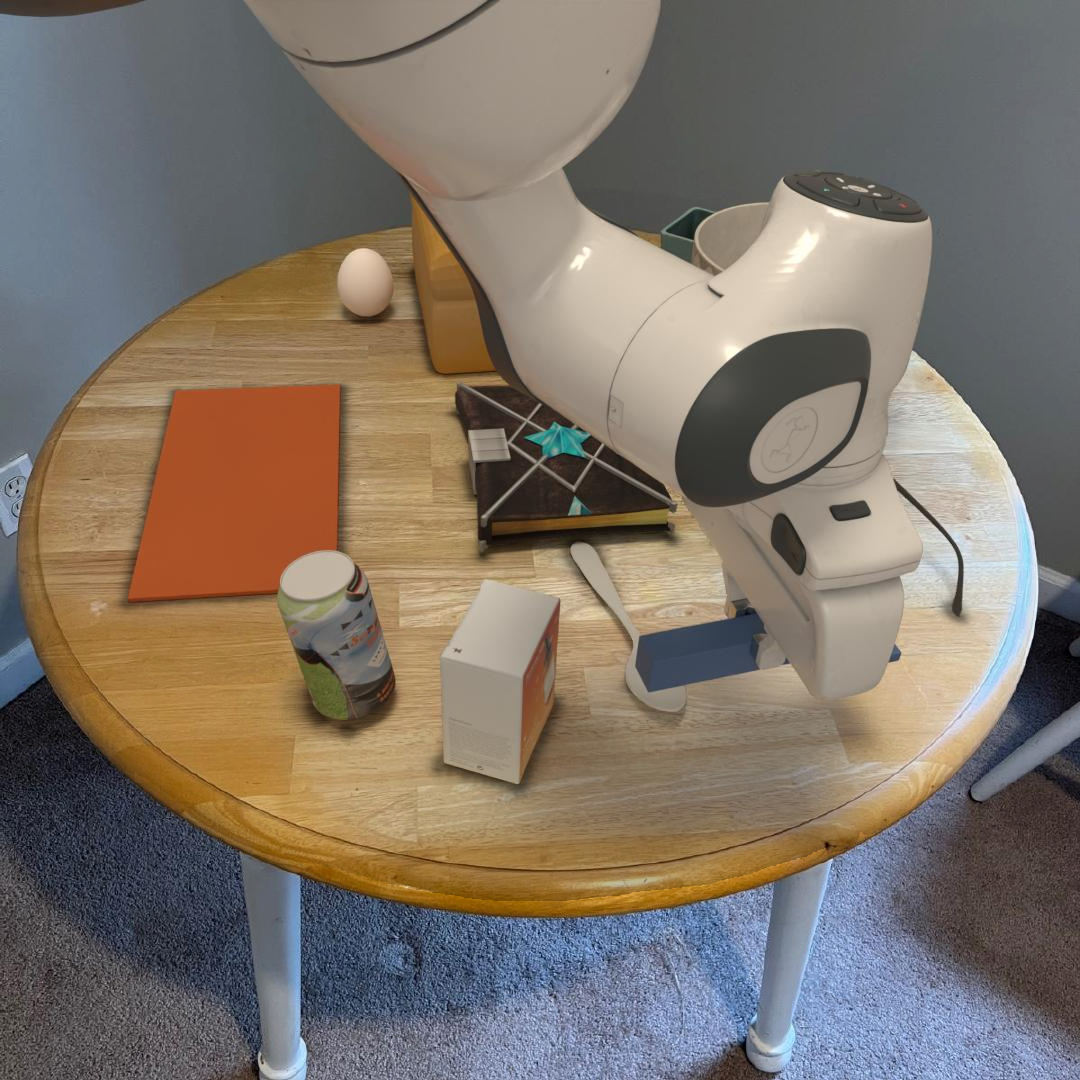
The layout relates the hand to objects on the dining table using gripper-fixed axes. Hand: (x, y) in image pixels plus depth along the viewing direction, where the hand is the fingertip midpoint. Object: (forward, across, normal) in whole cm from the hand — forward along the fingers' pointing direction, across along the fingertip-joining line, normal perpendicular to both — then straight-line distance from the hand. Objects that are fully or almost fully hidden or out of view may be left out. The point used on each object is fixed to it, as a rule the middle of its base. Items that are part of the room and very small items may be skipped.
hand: (752, 640), depth 70 cm
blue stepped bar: (+2, 0, +1) cm, 2 cm away
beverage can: (+10, -12, -25) cm, 29 cm away
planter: (+10, -37, +21) cm, 44 cm away
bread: (+10, -64, -1) cm, 64 cm away
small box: (+10, -5, -15) cm, 19 cm away
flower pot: (+10, -61, +25) cm, 66 cm away
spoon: (+10, -13, -3) cm, 17 cm away
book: (+10, -33, -2) cm, 35 cm away
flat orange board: (+10, -39, -29) cm, 50 cm away
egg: (+10, -67, -13) cm, 69 cm away
